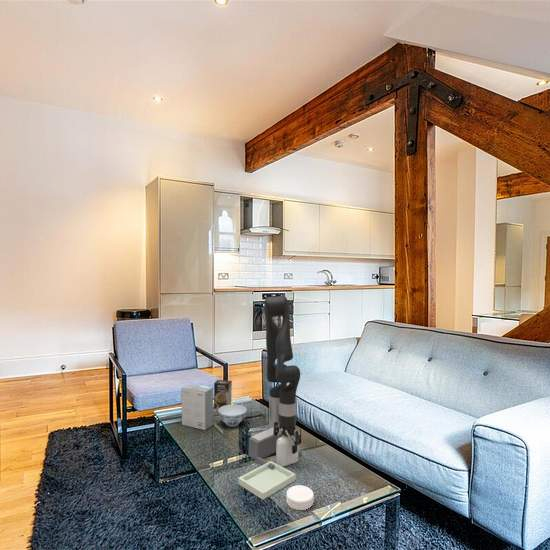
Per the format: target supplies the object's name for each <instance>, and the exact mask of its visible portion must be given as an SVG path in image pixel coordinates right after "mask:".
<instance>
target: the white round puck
mask: <svg viewBox="0 0 550 550" xmlns="http://www.w3.org/2000/svg"><path fill="white" fill-rule="evenodd" d="M285 501H286V504H287V506H288V507H290V508H291V509H293V510H296V511H305V510H306V509H307V510H309V509H311V508H312V507H313V506H314V504H315V493H314V492H313V490H312V489H311V488H310V487H308V486H306V485H302V484H301V485H300V484H299V485H298V484H297V485H294V486H291V487H289V488H288V489H287V491H286V500H285ZM313 503H314V504H313ZM312 505H313V506H312ZM311 506H312V507H311ZM310 507H311V508H310ZM308 508H309V509H308Z"/></svg>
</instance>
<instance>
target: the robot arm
mask: <svg viewBox="0 0 550 550" xmlns="http://www.w3.org/2000/svg"><path fill="white" fill-rule="evenodd" d="M263 304H264V305H263V308H264V309H263V310H264V318H265V334H266V335H265V344H266V347H265V348H266V379H267V382H270V383H279V384H278V385H276V386H273V387H271V388H270V389H269V392H268V393H269V394H268V395H269V396H268V399H269V400H268V402H269V403H268V429H270V428H272V427H274V432H273V434H274V435H276V437H277V439H279V438H280V437H282V435H283V436H286V437H288V438H289V440H290V441H291V442H292V444H293V445H292V453H293V454H295V453H296V452H297V445H298V446H299V445H301V444H302V430H301V429H296V424H297V402H296V401H297V389H298V386H299V382H300V379H301V370H300V368H299V367H298V366H297V365H287V364H285V363H286V362H289V361H291V360H293V358H294V353H293V348H292V347H293V346H292V340H291V320H290V319H291V317H290V307H289V301H288V298H287V297H286V295H279V296H269V297H266V298H265V299H264V302H263ZM275 317H277V318H278V317H282V323H281V327H279V326H278V325H277V324H276V322H275V321H274V319H273V318H275ZM275 362H276V363H275ZM276 430H277V432H276ZM279 430H280V431H279ZM292 435H293V437H291V436H292ZM293 439H294V440H293ZM298 440H299V441H298ZM294 441H295V442H294Z"/></svg>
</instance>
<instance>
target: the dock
mask: <svg viewBox="0 0 550 550" xmlns="http://www.w3.org/2000/svg"><path fill="white" fill-rule="evenodd" d="M279 431H280V430H279ZM273 432H274V427H272V428H270V429H269V428H268V429H266V430H264V431H261V432H259V433H257V434H255V435H252V436H250V437H249V438H248V457H249V458H252V459H253V460H255V463H257V464H258V465H260V466H262V465H264V464H266V463H268V462H269V461H268V460H266V459H265V458H267V457H269V456H271V455H273V454H275V453H276V444H277V437H276V435H274V434H273ZM276 432H277V430H276ZM282 436H284V435H282ZM298 457H302V450H301V449H298ZM269 468H270V469H271V470H273V469H274V465H272V464H269Z"/></svg>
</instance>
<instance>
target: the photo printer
mask: <svg viewBox="0 0 550 550" xmlns="http://www.w3.org/2000/svg"><path fill="white" fill-rule="evenodd" d="M291 437H293V435H292V436H291ZM293 440H294V439H293ZM298 441H299V440H298ZM294 442H295V441H294ZM292 445H293V444H292V442H291V441H290V440H289V438H288V437H286V436H284V435H283V436H282V437H280V438H279V439H277V444H276V452H275V453H276V454H275V456H276V457H275V458H276V459H275V463H276V464H278V465H279V466H281V467H283V468H285V467H286V466H290V465H292V464H296V463H298V462H299V456H298V450H299V445H297V452H296V453H295V454H293V453H292Z"/></svg>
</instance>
